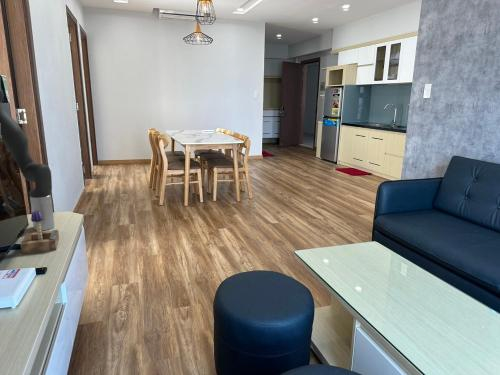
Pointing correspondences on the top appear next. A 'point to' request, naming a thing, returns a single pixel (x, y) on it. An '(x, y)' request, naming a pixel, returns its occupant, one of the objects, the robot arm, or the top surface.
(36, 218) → the toy lamp
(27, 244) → the walnut jig
